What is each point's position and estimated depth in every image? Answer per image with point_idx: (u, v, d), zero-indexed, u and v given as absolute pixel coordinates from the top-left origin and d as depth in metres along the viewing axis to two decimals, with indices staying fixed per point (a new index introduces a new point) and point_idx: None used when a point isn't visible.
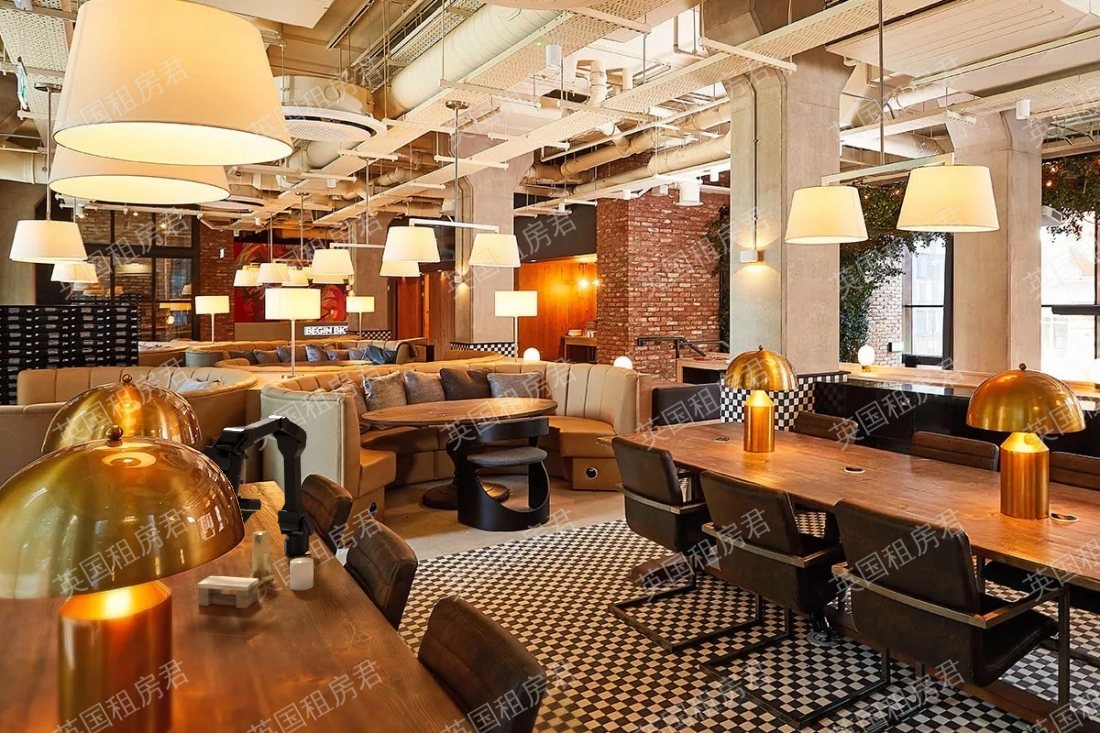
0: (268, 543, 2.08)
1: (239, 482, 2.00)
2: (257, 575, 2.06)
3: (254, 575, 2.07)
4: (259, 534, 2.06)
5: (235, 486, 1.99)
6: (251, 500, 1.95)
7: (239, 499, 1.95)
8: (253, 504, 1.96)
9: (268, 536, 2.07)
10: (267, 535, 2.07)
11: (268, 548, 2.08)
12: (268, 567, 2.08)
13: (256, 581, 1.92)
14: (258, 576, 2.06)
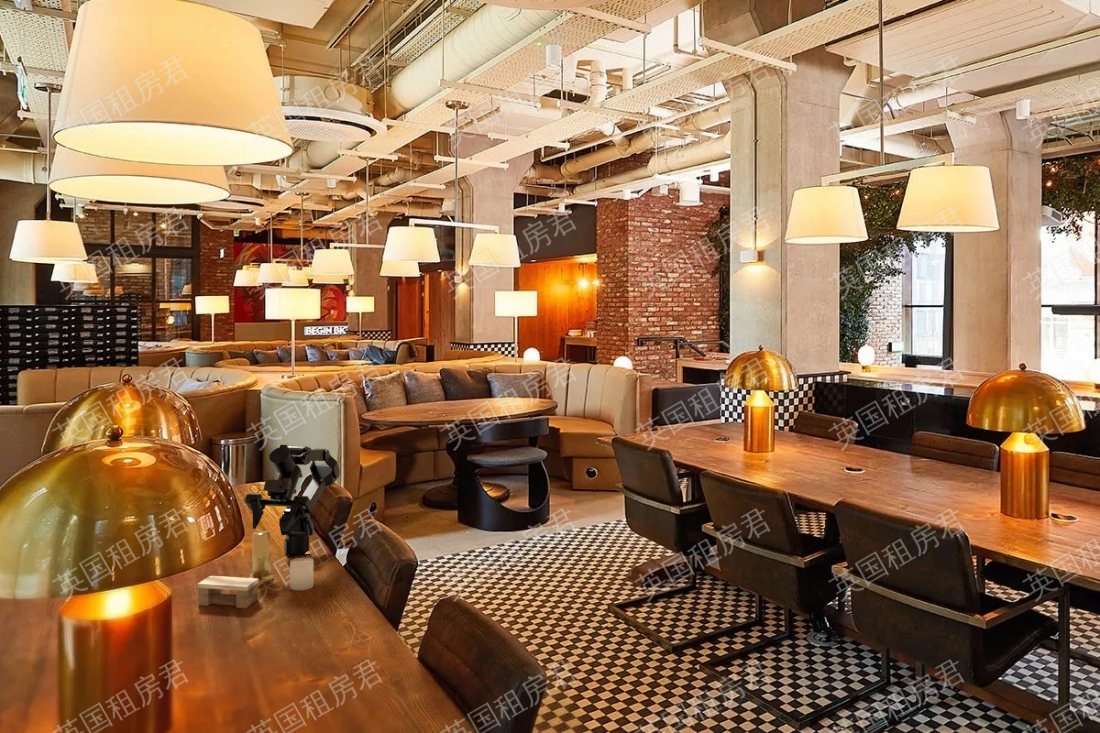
0: (268, 543, 2.08)
1: (294, 489, 2.22)
2: (257, 575, 2.06)
3: (254, 575, 2.07)
4: (259, 534, 2.06)
5: (292, 489, 2.20)
6: (308, 498, 2.17)
7: (298, 496, 2.16)
8: (309, 502, 2.17)
9: (268, 536, 2.07)
10: (267, 535, 2.07)
11: (268, 548, 2.08)
12: (268, 567, 2.08)
13: (256, 581, 1.92)
14: (258, 576, 2.06)
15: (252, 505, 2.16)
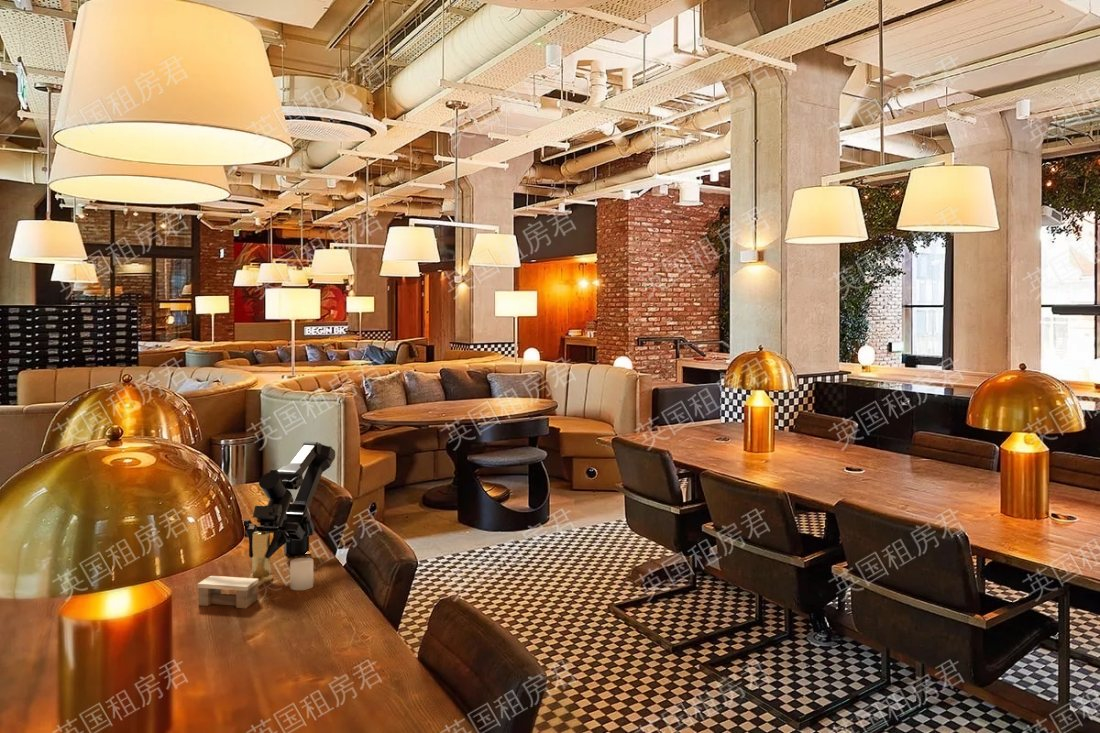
0: (268, 543, 2.08)
1: (285, 515, 2.16)
2: (257, 575, 2.06)
3: (254, 575, 2.07)
4: (259, 534, 2.06)
5: (282, 515, 2.14)
6: (299, 524, 2.11)
7: (288, 522, 2.11)
8: (299, 529, 2.11)
9: (268, 536, 2.07)
10: (267, 535, 2.07)
11: (268, 548, 2.08)
12: (268, 567, 2.08)
13: (256, 581, 1.92)
14: (258, 576, 2.06)
15: (249, 532, 2.10)
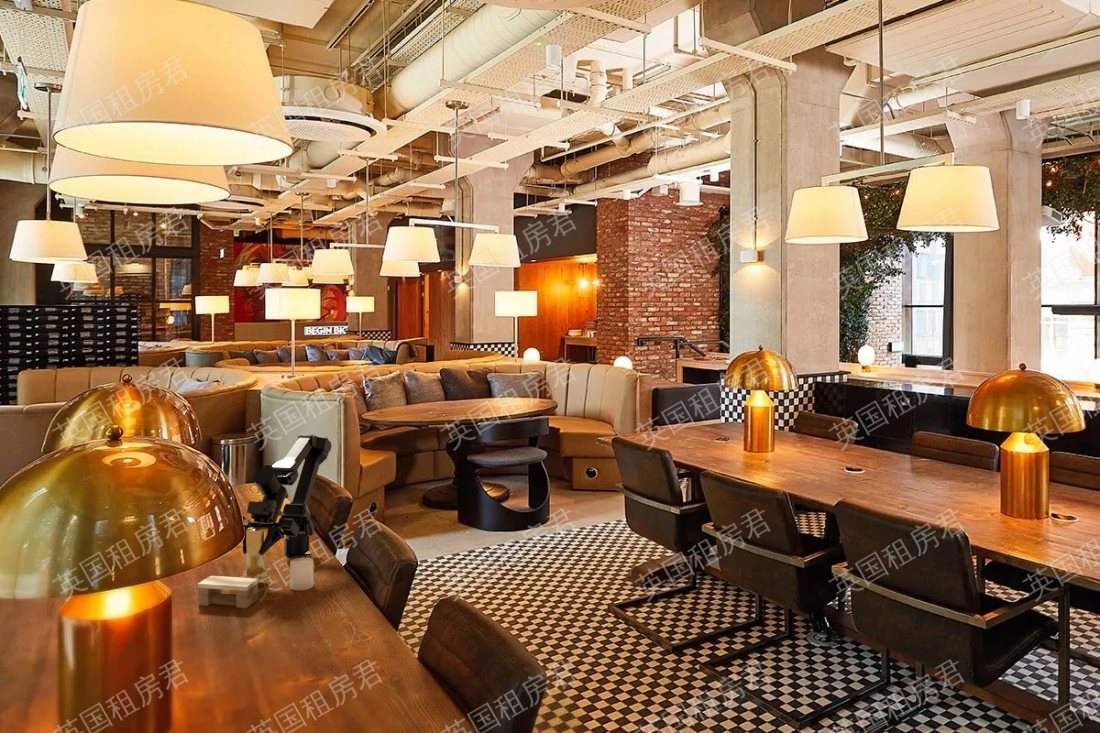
0: (262, 539, 2.04)
1: (279, 511, 2.13)
2: (251, 572, 2.03)
3: (248, 572, 2.03)
4: (253, 530, 2.03)
5: (277, 511, 2.11)
6: (294, 521, 2.08)
7: (283, 518, 2.07)
8: (294, 525, 2.07)
9: (262, 532, 2.04)
10: (261, 531, 2.03)
11: (262, 544, 2.04)
12: (262, 564, 2.05)
13: (256, 581, 1.92)
14: (252, 573, 2.03)
15: None
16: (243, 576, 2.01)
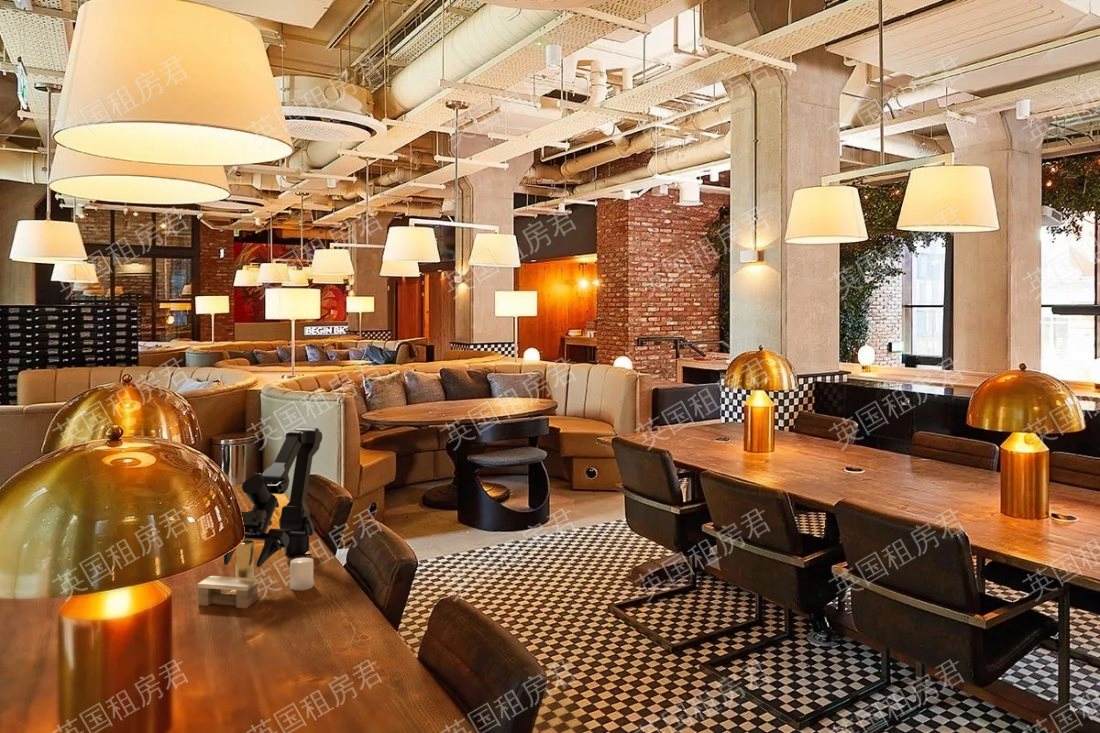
0: (252, 553, 1.99)
1: (270, 521, 2.07)
2: None
3: None
4: (242, 544, 1.97)
5: (267, 521, 2.05)
6: (284, 531, 2.02)
7: (272, 529, 2.01)
8: (284, 536, 2.02)
9: (252, 546, 1.98)
10: (251, 545, 1.98)
11: (252, 558, 1.99)
12: None
13: (256, 581, 1.92)
14: None
15: None
16: (232, 591, 1.96)
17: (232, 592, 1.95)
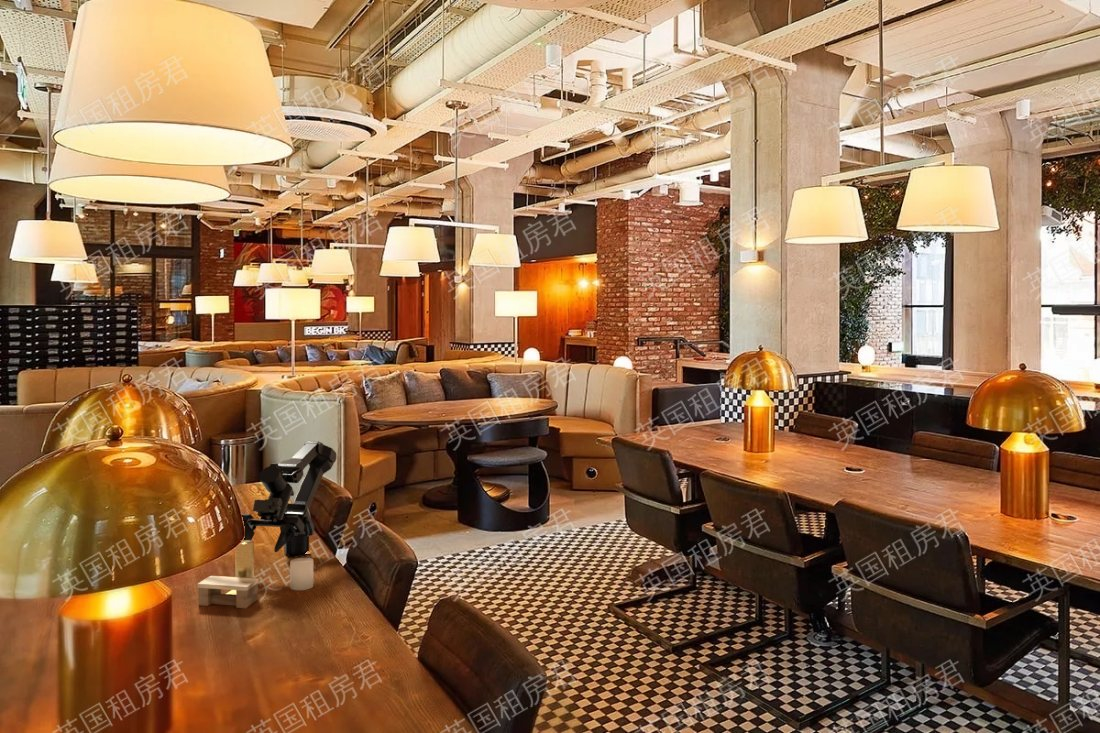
0: (252, 553, 1.99)
1: (285, 508, 2.17)
2: None
3: None
4: (242, 544, 1.97)
5: (283, 509, 2.15)
6: (299, 518, 2.11)
7: (288, 516, 2.11)
8: (300, 522, 2.11)
9: (252, 546, 1.98)
10: (251, 545, 1.98)
11: (252, 558, 1.99)
12: None
13: (256, 581, 1.92)
14: None
15: None
16: (232, 591, 1.96)
17: (232, 592, 1.95)
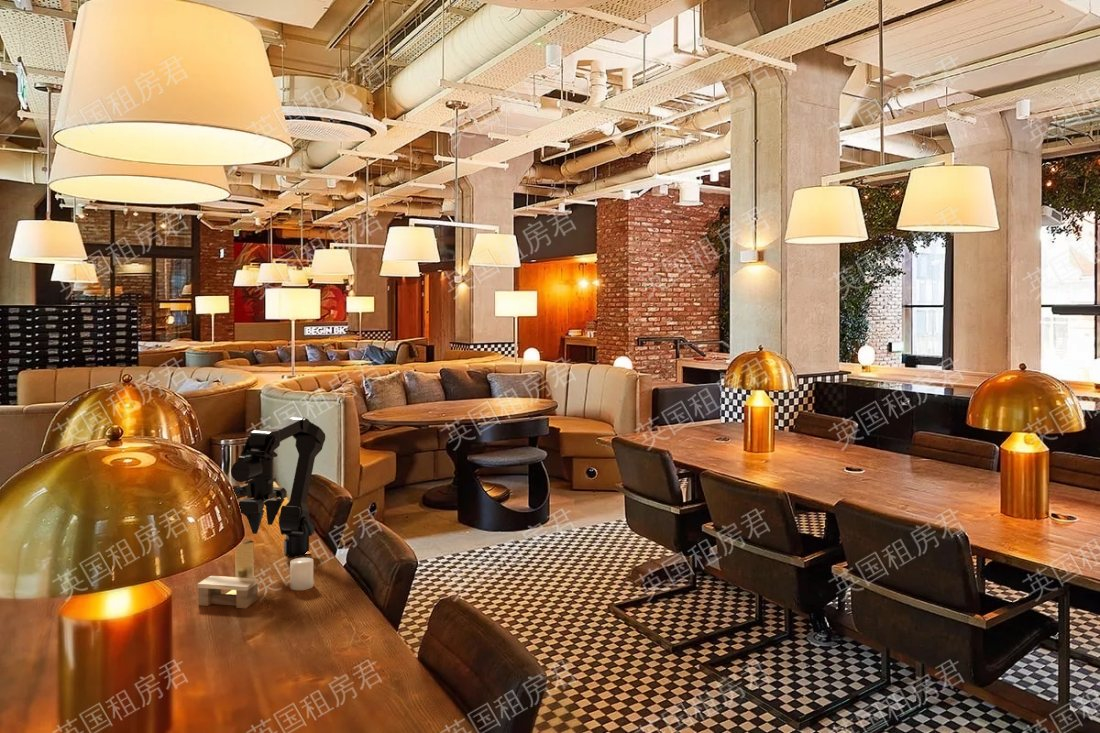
0: (252, 553, 1.99)
1: (261, 482, 2.10)
2: None
3: None
4: (242, 544, 1.97)
5: (255, 486, 2.10)
6: (241, 503, 2.04)
7: (243, 500, 2.07)
8: (243, 506, 2.04)
9: (252, 546, 1.98)
10: (251, 545, 1.98)
11: (252, 558, 1.99)
12: None
13: (256, 581, 1.92)
14: None
15: None
16: (232, 591, 1.96)
17: (232, 592, 1.95)
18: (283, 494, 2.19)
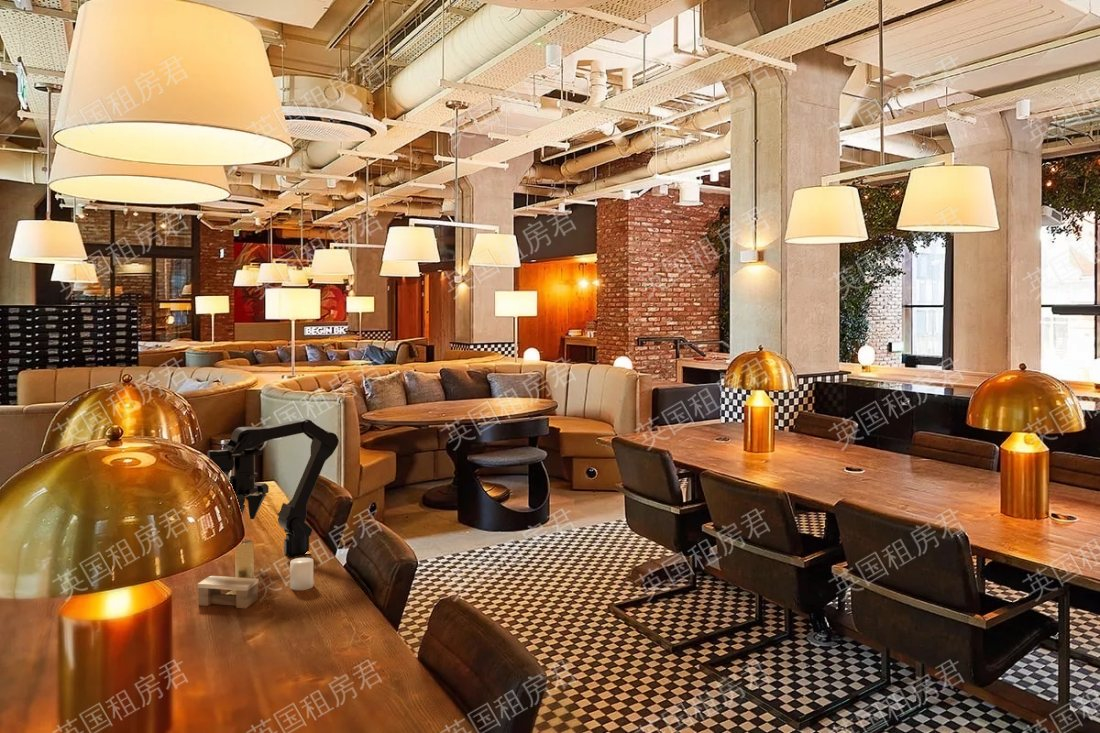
0: (252, 553, 1.99)
1: (242, 478, 2.17)
2: None
3: None
4: (242, 544, 1.97)
5: (237, 482, 2.17)
6: None
7: None
8: None
9: (252, 546, 1.98)
10: (251, 545, 1.98)
11: (252, 558, 1.99)
12: None
13: (256, 581, 1.92)
14: None
15: None
16: (232, 591, 1.96)
17: (232, 592, 1.95)
18: (265, 489, 2.26)
